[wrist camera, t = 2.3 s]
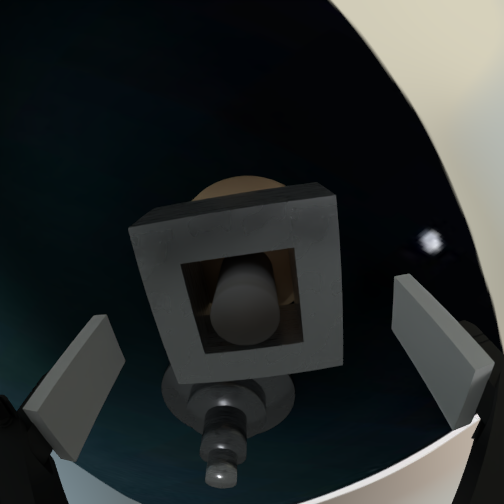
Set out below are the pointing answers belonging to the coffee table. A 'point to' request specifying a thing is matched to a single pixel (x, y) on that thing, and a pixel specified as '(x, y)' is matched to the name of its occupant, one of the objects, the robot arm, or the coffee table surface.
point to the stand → (246, 279)
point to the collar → (240, 243)
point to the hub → (228, 416)
